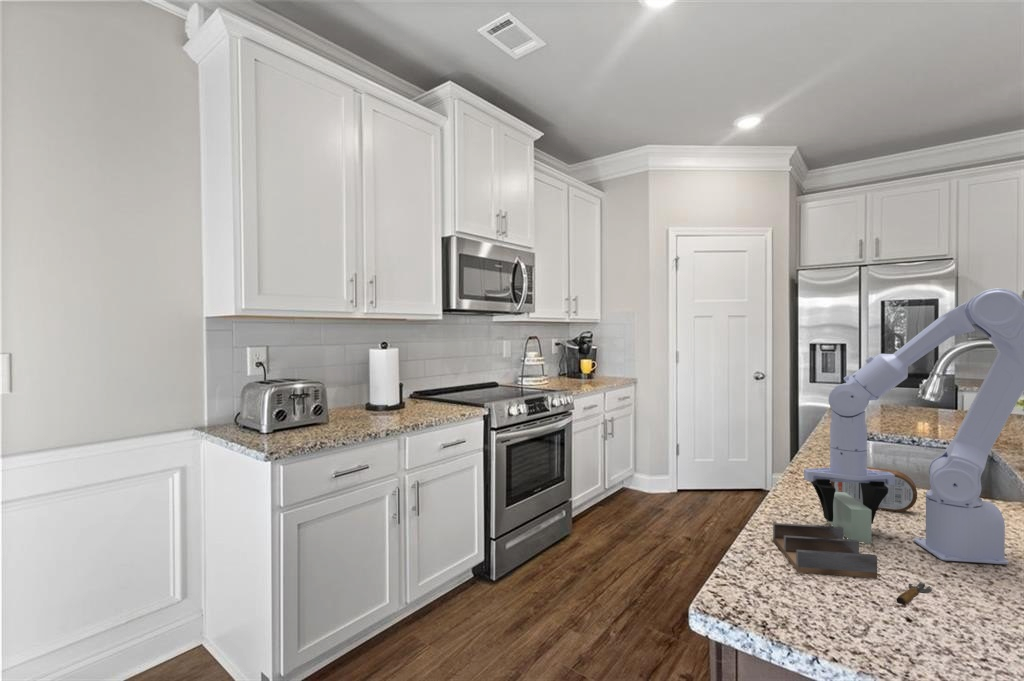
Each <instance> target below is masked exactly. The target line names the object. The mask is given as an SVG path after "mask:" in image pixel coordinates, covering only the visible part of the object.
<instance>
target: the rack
mask: <svg viewBox="0 0 1024 681" xmlns="http://www.w3.org/2000/svg"><path fill="white" fill-rule="evenodd" d="M772 541H773V543H774V544H775V545H776V546H777V547H778V549H779V550H780V551H781V552H782V554H783V555H784V556H785V558H786V559H787V560H788V561H789V563H790V564H791V565H792V566H793V568H794V569H795V570H796V571H797V573H802V574H806V573H807V574H817V575H818V574H819V575H832V576H833V575H834V576H846V577H859V578H872V579H878V556H877V555H876V554H870V553H860V543H859V541H858V540H851V539H847V538H844V535H843V528H842V527H835V526H832V525H815V524H813V525H811V524H795V523H782V522H781V523H779V522H778V523H777V522H773V523H772Z"/></svg>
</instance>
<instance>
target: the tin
mask: <svg viewBox="0 0 1024 681" xmlns="http://www.w3.org/2000/svg"><path fill="white" fill-rule="evenodd" d="M867 470H872V471H882V472H890V473H892V474H894V475H895V485H888V484H885V486H886V487H888V494H887V495H886V496H885V497H884V498H883V500H882V501H881V503H880V505H879V507H878V509H881V510H880V511H885V510H888V511H887V512H891V511H896V512H895V513H902V512H906V511H908V510H910V509H911V508H912V507H914V506H915V504H916V503H917V501H918V491H917V486H916V484H915V482H914V480H912V479H911V478H910V477H909V476H908V475H907V474H905V473H904V472H901V471H899V470H894V469H887V468H879V467H871V466H867ZM830 483H832V486H833V487H834V488H835V489H836V490H835V492H845V493H847V494H848V495H850V496H851V497H853V498H854V499H856V500H857V501H859V502H860V503H862V504H863V497H862V490H861V484H860V483H856V482H833V481H830ZM878 509H877V510H878Z"/></svg>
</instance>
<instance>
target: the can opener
mask: <svg viewBox="0 0 1024 681" xmlns="http://www.w3.org/2000/svg"><path fill="white" fill-rule="evenodd" d="M908 586H909V587H910V588H909V589H908V590H906V591H905V592H902V593H901V594H899V595H898V596H897V597H896V603H897V604H901V605H903V606H905V605H907V604H908V603H910V602H911V601H912V599H913V598H915V597H916V596H917V595H919V593H923V594H930V593H932V592H933V589H932V587H931V585H928V586H927V587H926V584H925V582H923V581H919V582H918V584H917V585H916V586H914V583H908ZM923 587H926V588H923Z"/></svg>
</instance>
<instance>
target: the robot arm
mask: <svg viewBox="0 0 1024 681" xmlns="http://www.w3.org/2000/svg"><path fill="white" fill-rule="evenodd" d="M975 328H977V329H979V330H980V331H981V332H983V334H985V335H986V336H987V338H988V339H989V341H990V342H991V344H992V345H993V348H995V350H996V351H997V354H996V356H995V359H994V361H993V362H992V364H991V365H990V368H989V370H988V372H987V374H986V376H985V378H984V379H983V381H982V384H981V385H980V387H979V389H978V391H977V393H976V395H975V397H974V399H973V401H972V403H971V404H970V406H969V409H968V410H967V412H966V414H965V416H964V418H963V419H962V422H961V423H960V425H959V427H958V429H957V431H956V433H955V435H954V437H953V438H952V440H951V441H950V443H949V444H947V447H946V449H945V450H944V452H943V453H942V454H941V455H939V456H937V457H935V458H934V459H933V460H932V461H931V462H930V464H929V466H928V474H929V486H930V489H929V490H926V491H925V538H920V537H919V538H918V537H917V538H916V537H914V538H913V541H912V542H915V543H916V544H917V545H919V546H920V547H922V548H923V549H925V550H926V551H927V552H929V553H930V554H931V555H934V556H935V557H936V558H938V559H940V560H941V561H949V562H965V563H966V562H967V563H979V564H981V563H982V564H993V565H994V564H995V565H1009V561H1008V560H1007V559H1006V558H1005V554H1006V552H1005V551H1006V549H1005V548H1006V547H1005V546H1006V545H1005V544H1006V543H1005V542H1006V541H1005V538H1006V536H1005V535H1006V533H1005V532H1006V531H1005V530H1006V524H1005V520H1004V516H1003V513H1002V512H1001V510H1000V508H998V506H996V504H994V503H993V502H990V501H984V500H983V499H982V498H981V497H980V496H981V492H982V482H981V477H982V475H983V472H984V471H985V468H986V465H987V461H988V458H989V455H990V452H991V451H992V449H993V447H994V445H995V443H996V441H997V440H998V438H999V436H1000V434H1001V432H1002V430H1003V429H1004V427H1005V424H1006V423H1007V421H1008V419H1009V418H1010V416H1011V414H1012V412H1013V410H1014V409H1015V407H1016V405H1017V403H1018V402H1019V399H1020V397H1021V396H1022V394H1023V392H1024V298H1022V297H1021V295H1019V294H1018V293H1016V292H1015V291H1012V290H1009V289H1006V288H992V289H991V288H990V289H987V290H984V291H981V292H979V294H976V295H975V296H973V297H972V298H971V299H970V300H969V301H965V302H964V303H962V304H960V305H958V306H957V307H955V308H952V309H951V310H949V311H947V312H945V313H944V314H942V315H940V316H938V317H937V319H935V320H934V321H933V322H931V323H930V324H929V325H928V326H926V327H925V328H924V329H923V330H921V331H920V332H918V334H917V335H915V336H914V337H912V338H911V339H910V340H909V341H907V342H906V343H905V344H904V345H903V346H901V347H900V348H899V349H897V350H896V351H895V352H894V353H879V354H877V355H876V356H875V357H874V356H873V355H870V356H869V357H868V358H867V359H865V362H866V363H865V364H864V365H863V366H862V367H860V368H859V369H858V370H857V371H855V372H854V373H853V374H851V375H849V374H847V375H846V376H845V377H843V381H845V382H844V383H841V384H838V385H835V386H834V388H833V389H832V390H831V391H830V393H829V395H828V405H829V406H830V408H831V412H830V418H831V419H830V420H831V421H830V422H829V467H820V468H819V467H818V468H817V467H816V468H803V479H804V480H805V481H807V482H811V485H812V487H813V489H814V490H815V492H816V495H817V497H818V499H819V502H820V505H821V508H822V513H823V518H824V519H825V520H826V522H827V521H830V522H833V500H834V494H835V490H836V489H835V488H834V487H833V486H832V483H830V481H833V482H856V483H860V484H861V490H862V497H863V505H865V506H866V507H868V508H869V509H871V510H872V522H871V525H872V524H873V523H874V520H875V517H876V514H877V511H878V507H879V505H880V503H881V501H882V500H883V498H884V497H885V496H886V495H887V494H888V487H886V486H885V484H888V485H895V475H894V474H892V473H890V472H882V471H872V470H867V467H868V425H867V423H866V411H865V410H866V408H867V407H868V406H869V403H870V402H869V401H877V400H879V399H880V398H881V397H884V395H885V394H887V393H888V392H890V391H891V390H892V389H894V388H896V387H897V386H898V385H900V384H901V383H902V382H903V381H905V380H907V379H908V376H909V375H908V374H909V369H908V368H909V367H910V366H911V365H913V364H914V363H915V362H917V361H918V360H919V359H922V357H924V356H926V355H927V354H928V353H930V352H932V351H933V350H934V349H935V348H937V347H938V346H940V345H941V344H943V343H944V342H946V341H947V340H948V339H950V338H952V337H954V336H959V335H963V334H968V333H972V332H976V329H975Z"/></svg>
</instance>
